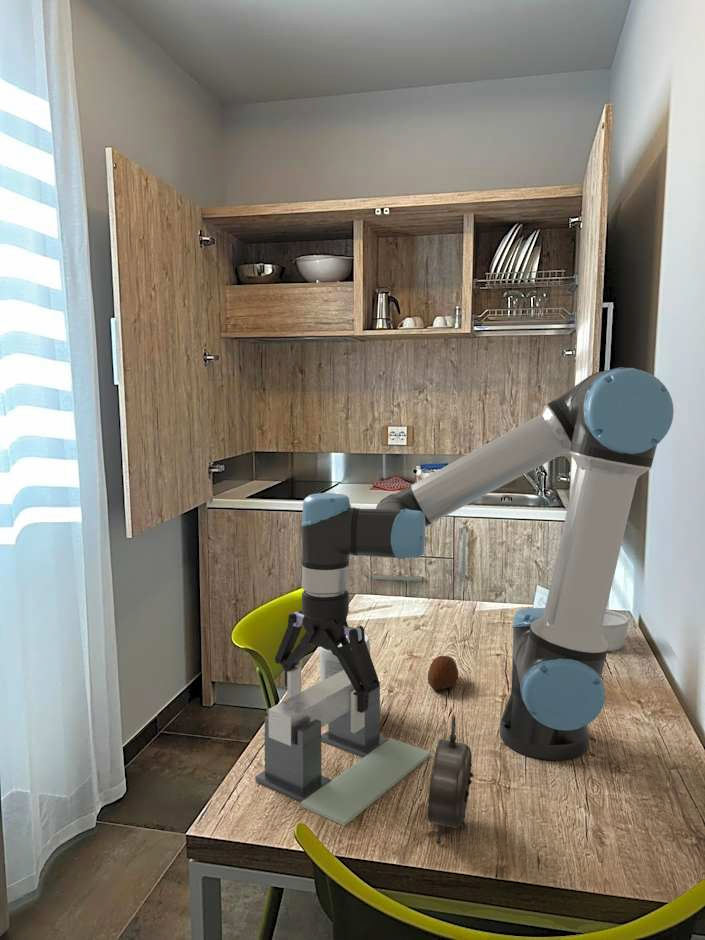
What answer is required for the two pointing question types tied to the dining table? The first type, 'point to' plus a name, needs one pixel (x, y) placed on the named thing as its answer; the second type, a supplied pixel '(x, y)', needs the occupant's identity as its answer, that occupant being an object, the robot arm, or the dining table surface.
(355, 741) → the post right
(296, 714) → the rail
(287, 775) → the post left
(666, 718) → the dining table surface
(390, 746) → the mat
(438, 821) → the alarm clock
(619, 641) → the ramekin
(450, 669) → the potato
